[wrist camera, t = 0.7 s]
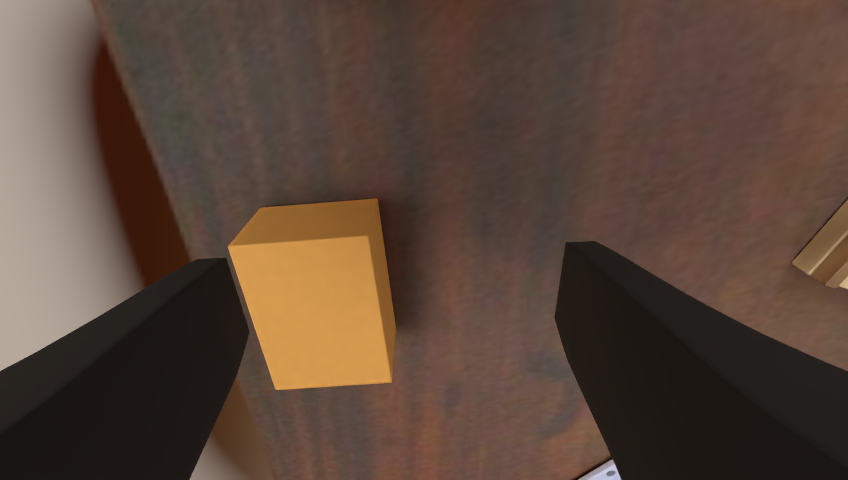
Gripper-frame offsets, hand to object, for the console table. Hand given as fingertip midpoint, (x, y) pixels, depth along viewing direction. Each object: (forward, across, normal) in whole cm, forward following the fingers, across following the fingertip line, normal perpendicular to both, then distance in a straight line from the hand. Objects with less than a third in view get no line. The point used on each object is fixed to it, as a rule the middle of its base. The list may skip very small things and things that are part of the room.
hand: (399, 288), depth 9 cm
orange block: (+9, +4, +5) cm, 11 cm away
